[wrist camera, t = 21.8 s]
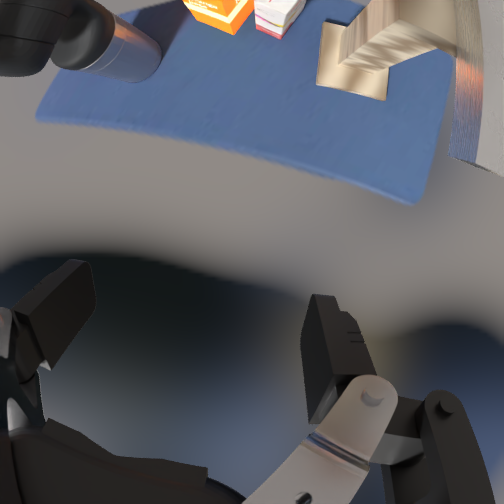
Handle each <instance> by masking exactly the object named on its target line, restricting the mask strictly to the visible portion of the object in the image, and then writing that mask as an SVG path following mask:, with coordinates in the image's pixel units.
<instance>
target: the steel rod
mask: <svg viewBox="0 0 504 504" xmlns="http://www.w3.org/2000/svg"><path fill="white" fill-rule="evenodd" d="M453 4H454V13H455V25H456V48H457V68H456V69H457V70H456V93H455V105H454V116H453V124H452V133H451V139H450V146H449V152H448V156H450V157H452V158H455V159H457V160H460V161H462V162H465V163H467V164H470V165H472V166H474V167H477V168H480V169H482V170H485V171H488V172H491V173H494V174H497V175H500V176H503V177H504V0H453Z"/></svg>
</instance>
